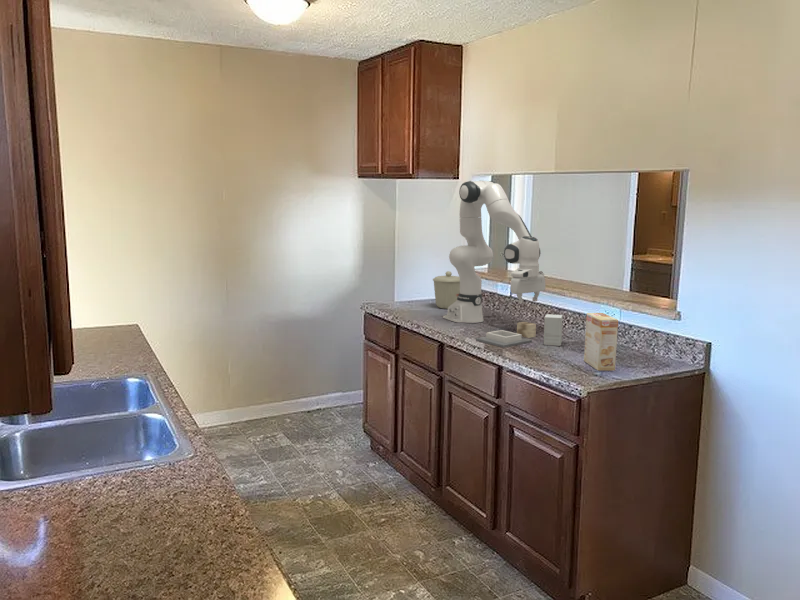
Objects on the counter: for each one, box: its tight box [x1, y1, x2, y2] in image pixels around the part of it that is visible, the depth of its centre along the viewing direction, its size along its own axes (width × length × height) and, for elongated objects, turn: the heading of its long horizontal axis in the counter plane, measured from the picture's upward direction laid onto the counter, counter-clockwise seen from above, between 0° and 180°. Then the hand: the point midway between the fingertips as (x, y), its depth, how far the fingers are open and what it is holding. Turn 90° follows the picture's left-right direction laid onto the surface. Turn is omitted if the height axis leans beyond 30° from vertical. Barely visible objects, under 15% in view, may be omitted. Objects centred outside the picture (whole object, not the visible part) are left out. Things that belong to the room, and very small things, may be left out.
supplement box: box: [543, 313, 564, 347], centre depth 289 cm, size 7×7×13 cm
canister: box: [432, 270, 460, 310], centre depth 378 cm, size 18×18×21 cm
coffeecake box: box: [583, 312, 619, 372], centre depth 252 cm, size 15×7×20 cm, turn 5°
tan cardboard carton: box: [516, 321, 537, 339], centre depth 306 cm, size 7×5×6 cm
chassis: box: [475, 329, 533, 348], centre depth 294 cm, size 17×18×4 cm
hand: (528, 302), depth 303 cm, fingers open, 8 cm apart
